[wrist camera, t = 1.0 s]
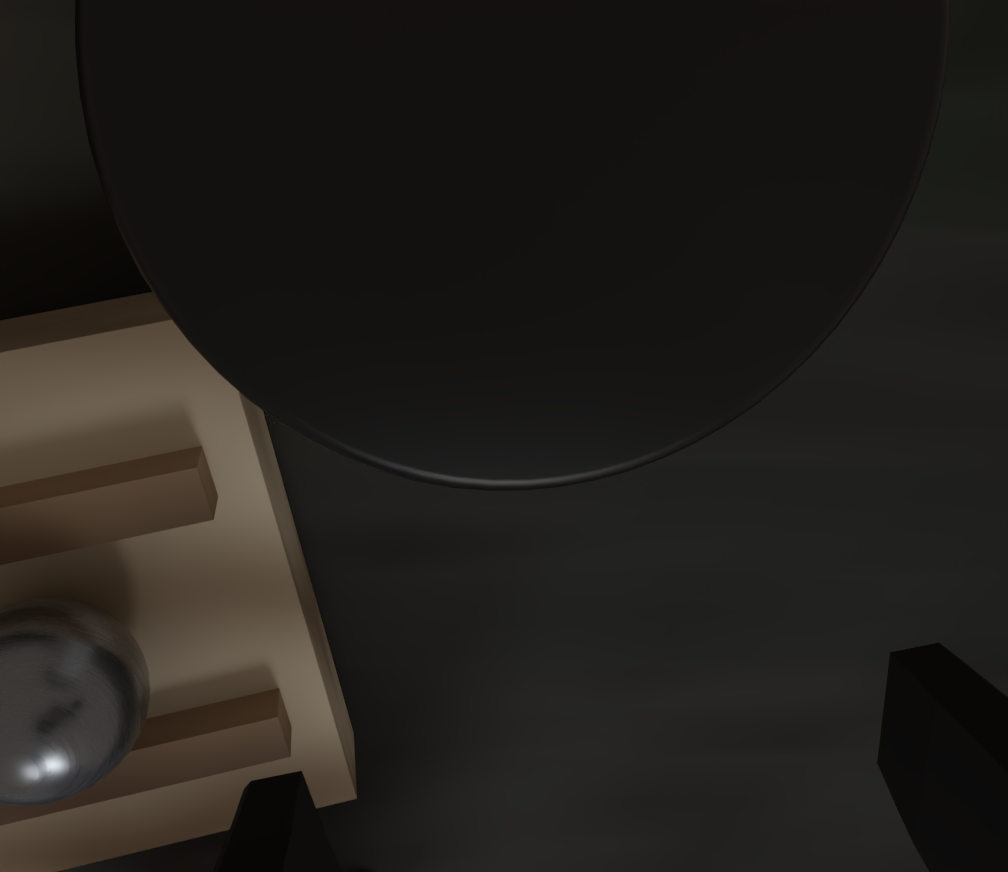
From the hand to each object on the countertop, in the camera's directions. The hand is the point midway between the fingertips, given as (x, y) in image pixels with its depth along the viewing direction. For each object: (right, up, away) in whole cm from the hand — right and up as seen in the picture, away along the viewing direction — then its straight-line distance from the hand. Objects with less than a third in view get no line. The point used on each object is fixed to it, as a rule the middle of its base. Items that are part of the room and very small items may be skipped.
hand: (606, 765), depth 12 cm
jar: (-3, +12, +8) cm, 15 cm away
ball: (-10, -1, +7) cm, 13 cm away
